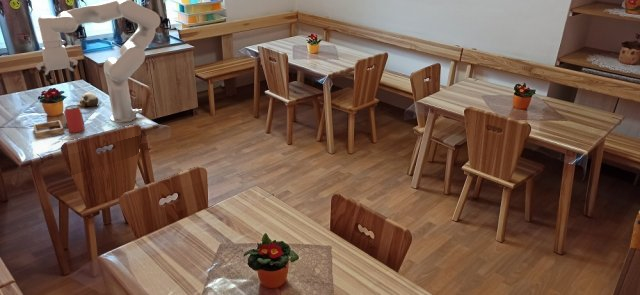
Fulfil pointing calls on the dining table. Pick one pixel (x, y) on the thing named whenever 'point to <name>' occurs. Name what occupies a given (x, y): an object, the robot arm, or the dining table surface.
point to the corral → (47, 125)
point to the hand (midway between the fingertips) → (60, 80)
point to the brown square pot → (81, 115)
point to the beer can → (74, 119)
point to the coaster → (75, 133)
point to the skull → (88, 101)
